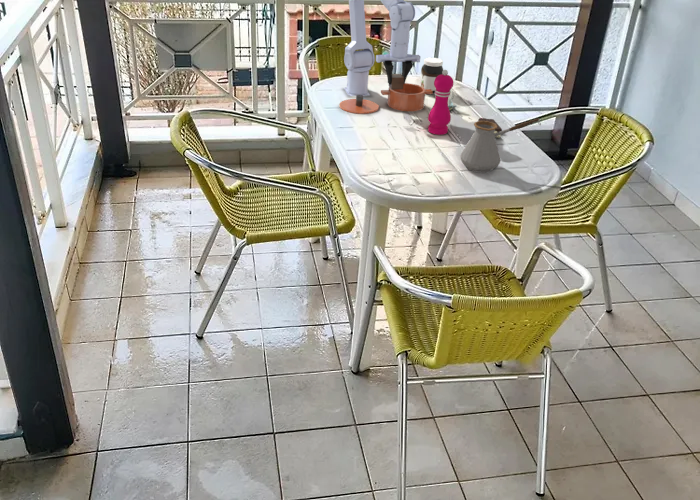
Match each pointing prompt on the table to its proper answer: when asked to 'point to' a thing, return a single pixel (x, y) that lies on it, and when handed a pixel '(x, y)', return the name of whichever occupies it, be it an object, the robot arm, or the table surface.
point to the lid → (359, 105)
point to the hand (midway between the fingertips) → (396, 83)
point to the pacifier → (451, 101)
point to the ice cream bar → (494, 123)
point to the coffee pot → (485, 146)
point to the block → (397, 81)
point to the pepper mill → (441, 105)
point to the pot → (407, 97)
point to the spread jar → (430, 72)
